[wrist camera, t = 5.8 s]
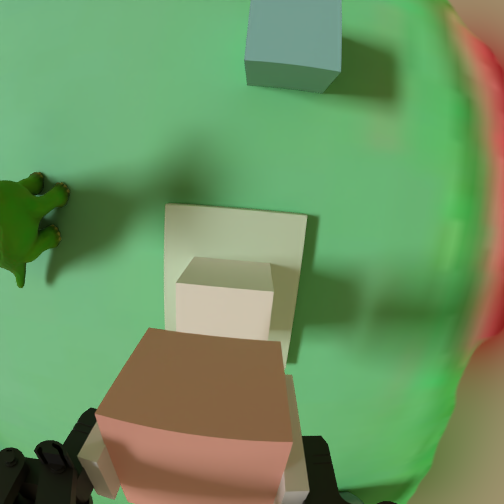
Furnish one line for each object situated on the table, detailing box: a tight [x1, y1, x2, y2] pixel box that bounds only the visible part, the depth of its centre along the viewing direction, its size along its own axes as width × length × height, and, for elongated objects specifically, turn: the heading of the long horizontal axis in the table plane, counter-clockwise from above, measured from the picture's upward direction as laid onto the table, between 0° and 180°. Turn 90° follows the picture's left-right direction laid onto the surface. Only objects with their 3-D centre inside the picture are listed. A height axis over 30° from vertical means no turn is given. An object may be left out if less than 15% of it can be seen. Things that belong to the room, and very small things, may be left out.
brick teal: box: [244, 0, 342, 93], centre depth 18 cm, size 6×6×6 cm
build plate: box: [164, 203, 307, 369], centre depth 23 cm, size 14×11×7 cm
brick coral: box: [95, 328, 293, 504], centre depth 11 cm, size 6×6×6 cm
